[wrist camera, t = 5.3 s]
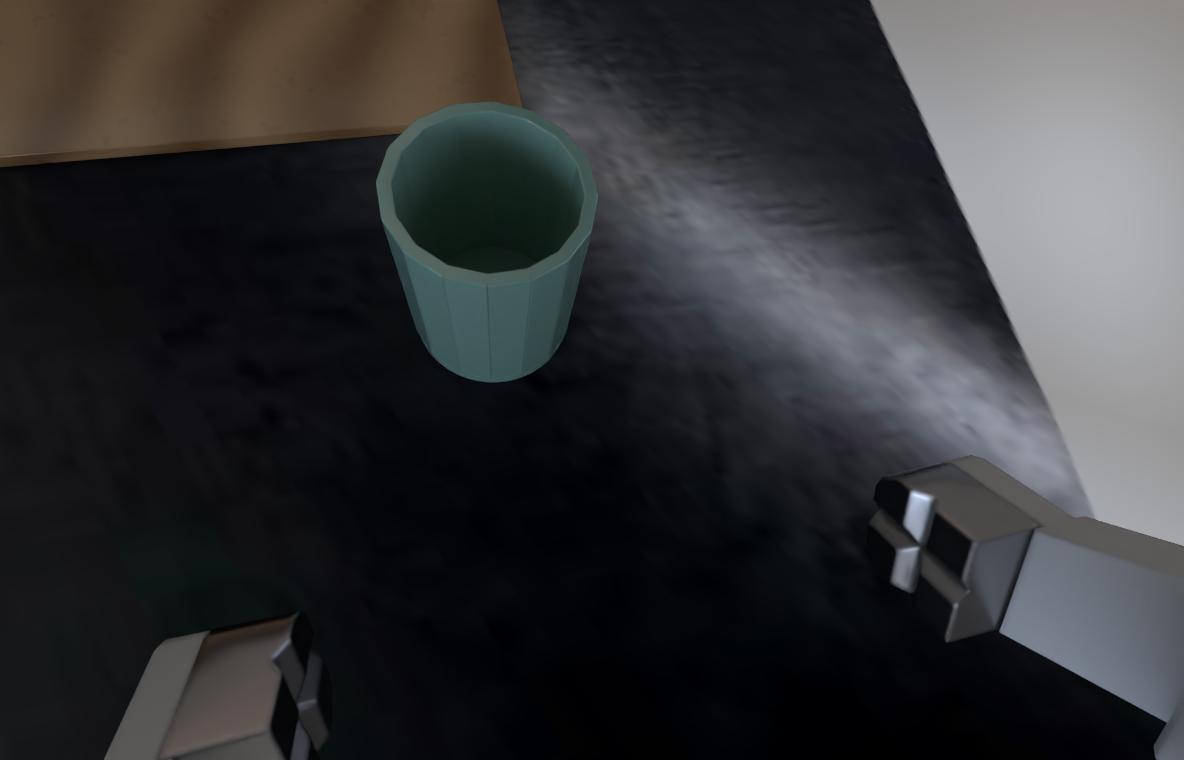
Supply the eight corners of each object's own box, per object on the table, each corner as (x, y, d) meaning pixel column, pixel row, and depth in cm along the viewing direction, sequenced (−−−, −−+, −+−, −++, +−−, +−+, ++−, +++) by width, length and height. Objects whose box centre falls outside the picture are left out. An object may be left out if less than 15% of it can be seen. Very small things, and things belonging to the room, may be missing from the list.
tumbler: (427, 395, 23) (392, 299, 15) (406, 256, 25) (365, 109, 17) (582, 368, 24) (618, 268, 17) (551, 238, 26) (572, 94, 18)
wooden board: (-111, 177, 23) (-127, 166, 22) (-73, -104, 27) (-85, -119, 26) (524, 124, 28) (524, 114, 27) (469, -107, 32) (469, -120, 31)
